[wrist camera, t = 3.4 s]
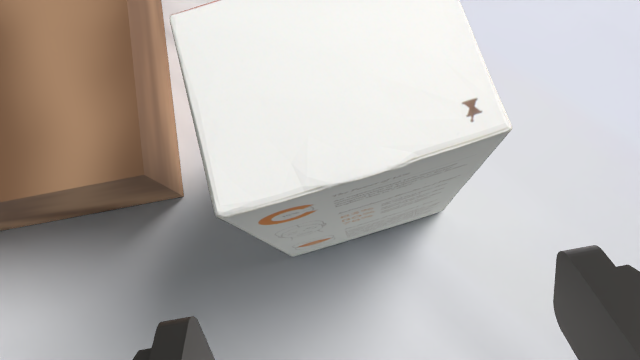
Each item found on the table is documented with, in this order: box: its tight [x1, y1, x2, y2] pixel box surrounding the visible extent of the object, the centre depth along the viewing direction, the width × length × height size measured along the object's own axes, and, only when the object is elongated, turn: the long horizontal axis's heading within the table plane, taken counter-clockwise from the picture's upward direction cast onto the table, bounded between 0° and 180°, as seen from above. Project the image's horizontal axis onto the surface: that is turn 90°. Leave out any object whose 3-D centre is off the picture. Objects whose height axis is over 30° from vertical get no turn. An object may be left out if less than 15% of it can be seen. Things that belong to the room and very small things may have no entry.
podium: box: [0, 0, 184, 231], centre depth 27 cm, size 13×13×5 cm
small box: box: [170, 0, 512, 257], centre depth 21 cm, size 8×6×13 cm
